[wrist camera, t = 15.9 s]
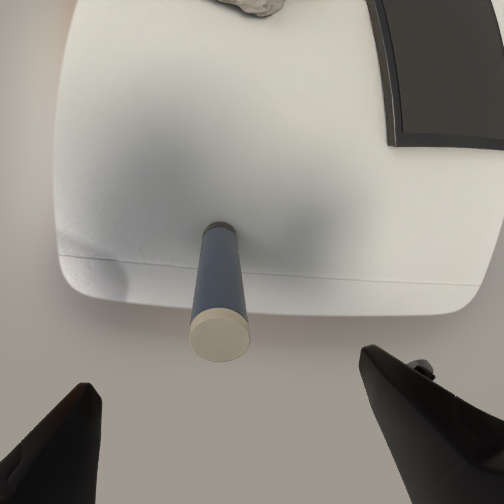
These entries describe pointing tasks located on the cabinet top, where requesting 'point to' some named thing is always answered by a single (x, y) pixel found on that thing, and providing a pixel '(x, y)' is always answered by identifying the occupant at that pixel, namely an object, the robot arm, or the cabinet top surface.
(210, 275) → the stylus
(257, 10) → the stone
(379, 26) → the tablet
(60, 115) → the cabinet top surface
